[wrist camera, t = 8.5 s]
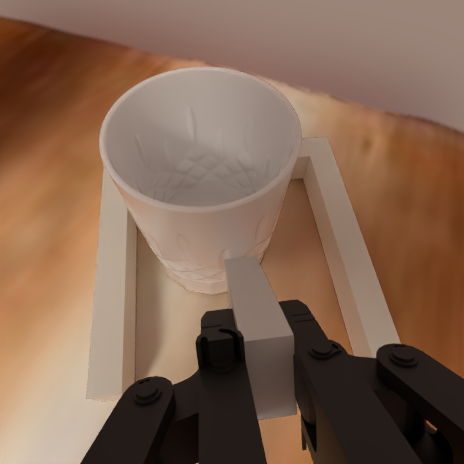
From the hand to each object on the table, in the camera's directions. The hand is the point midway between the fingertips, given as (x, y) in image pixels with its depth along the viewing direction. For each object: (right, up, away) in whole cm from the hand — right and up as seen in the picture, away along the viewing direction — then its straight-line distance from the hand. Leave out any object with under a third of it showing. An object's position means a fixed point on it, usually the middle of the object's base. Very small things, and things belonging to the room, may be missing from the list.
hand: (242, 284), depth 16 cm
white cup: (-2, +2, +6) cm, 7 cm away
